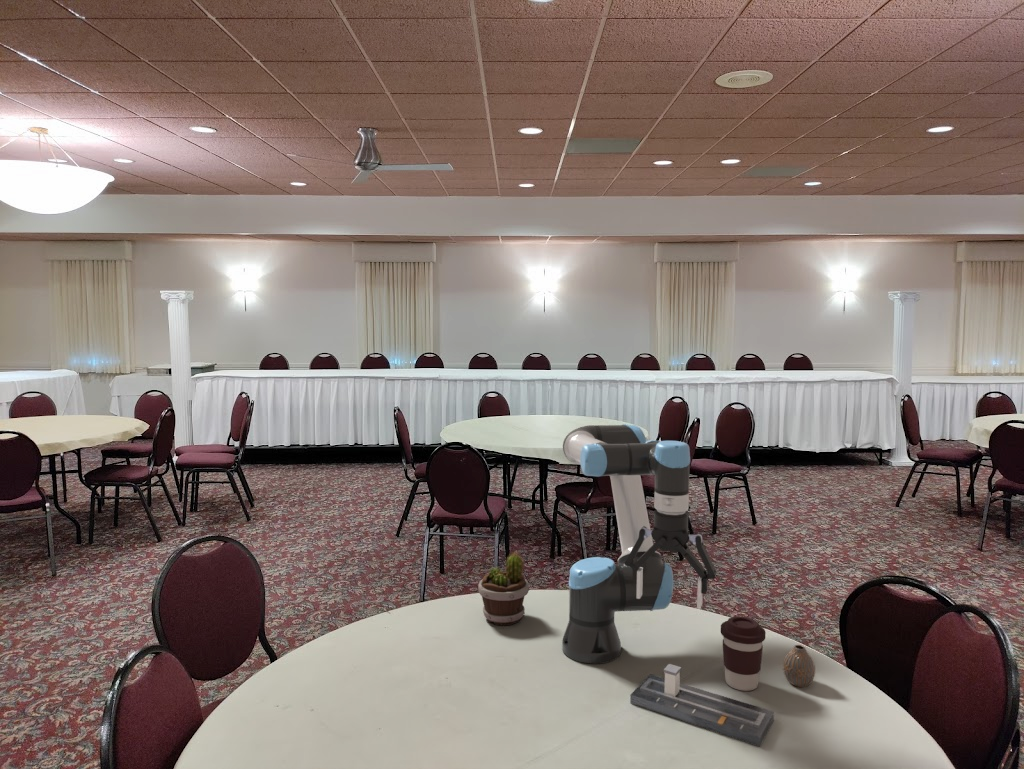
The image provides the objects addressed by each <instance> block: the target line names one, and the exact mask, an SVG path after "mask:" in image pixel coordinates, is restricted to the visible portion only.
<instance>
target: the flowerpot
mask: <svg viewBox="0 0 1024 769" xmlns="http://www.w3.org/2000/svg"><path fill="white" fill-rule="evenodd" d="M516 552H517V549H515V550H514V552H513V551H511V553H509V556H507V557H506V559H505V561H504V562H503V563H505V565H506V567H504V568H503V569H504V571H503V569H502V570H501V568H499V567H498V566H496V567H495V566H493V567H492V569H490V570H489V573H488V574H485V575H484V576H483V577H482V579H481V580H480V581H479V582H478V584H477V586H478V587H477V588H478V593H479V594H480V596H481V598H482V602H483V607H482V612H483V616H484V618H486V620H487V622H488V623H494V625H495V626H496V625H497V626H499V625H501V626H508V625H509V626H511V625H514V624H516V623H519V621H520V620H521V618H523V616H524V615H525V610H526V609H525V606H524V605H523V604H524V600H525V596H527V595H528V593H529V591H530V590H531V589H530V586H529V582H528V580H526V578H525V577H524V571H523V570H525V569H526V568H525V560H524V559H523V556H520V554H519V553H516Z"/></svg>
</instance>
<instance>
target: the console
mask: <svg viewBox="0 0 1024 769" xmlns="http://www.w3.org/2000/svg"><path fill="white" fill-rule="evenodd" d="M664 691H665V677H663V676H662V677H661V676H658V675H655V674H651V673H649V675H648V676H646V678H644V679H643V681H642V682H641V683H640V684H639V685H638V686H637V687H636V688H635V690H633V691H632V692H631V694H630V696H629V697H630V704H631V705H634V706H638V707H640V708H643V709H646V710H650V711H652V712H654V713H658V714H661V715H664V716H667V717H670V718H673V719H676V720H679V721H681V722H682V721H683V722H685V723H688V724H691V725H693V726H697V727H699V728H703V729H707V730H709V731H712V732H714V733H718V734H720V735H722V736H723V735H724V736H727V737H729V738H733V739H736V740H737V741H741V742H744V743H747V744H750V745H753V746H757V747H761V745H762V744H763V742H764V740H765V738H766V736H767V734H768V732H769V730H770V728H771V727H772V725H773V722H774V719H775V718H774V716H775V712H774V711H773V710H770V709H767V708H763V707H760V706H757V705H753V704H750V703H747V702H744V701H740V700H737V699H733V698H730V697H727V696H723V695H721V694H717V693H713V692H711V691H708V690H704V689H700V688H697V687H694V686H691V685H687V684H686V683H685V684H684V683H681V682H680V688H679V693H678V694H677V695H676V696H675V697H674V696H671V695H668V694H664Z"/></svg>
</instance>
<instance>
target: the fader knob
mask: <svg viewBox="0 0 1024 769" xmlns="http://www.w3.org/2000/svg"><path fill="white" fill-rule="evenodd" d="M681 671H682V667H681V666H679V665H674V664H672V663H668V664H667V665H666V667H664V669H663V673H664V678H665V691H664V694H668V695H671V696H674V697H675V696H676V695H677V694H678V693H679V688H680V683H681V682H680V676H681Z"/></svg>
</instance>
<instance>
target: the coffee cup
mask: <svg viewBox="0 0 1024 769" xmlns="http://www.w3.org/2000/svg"><path fill="white" fill-rule="evenodd" d="M720 635H721V636H722V637H723V638H722V655H723V656H722V657H723V658H722V659H723V660H722V661H723V666H724V677H725V678H724V679H725V683H726V684H727V685H728V686H729V687H731V688H733V689H735V690H738V691H741V692H742V691H744V692H749V691H753V690H755V689H757V687H758V686H759V680H760V679H759V678H760V671H761V667H762V659H763V658H762V657H763V650H764V649H763V648H764V647H763V646H764V645H763V642H764V641H765V640H766V630H765V628H764V627H763V626H761V625H760V624H759V623H758V621H756V620H755V619H753V618H751V617H748V616H740V615H737V616H731V617H729V618H728V619H727V620H726V621H724V622H722V623H721V624H720Z"/></svg>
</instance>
